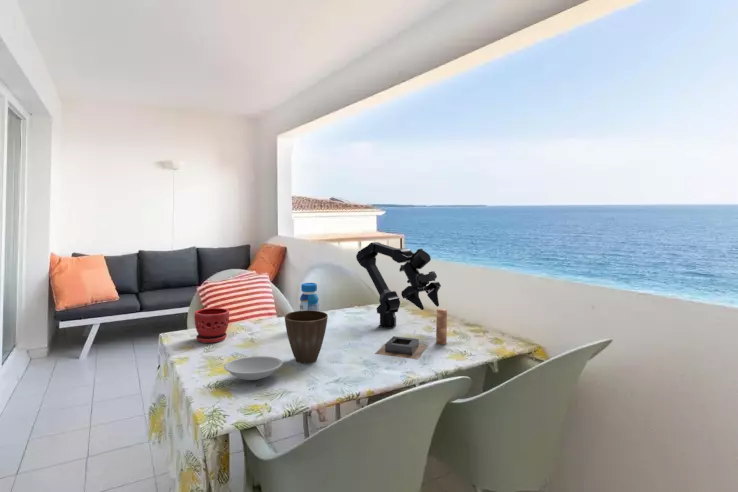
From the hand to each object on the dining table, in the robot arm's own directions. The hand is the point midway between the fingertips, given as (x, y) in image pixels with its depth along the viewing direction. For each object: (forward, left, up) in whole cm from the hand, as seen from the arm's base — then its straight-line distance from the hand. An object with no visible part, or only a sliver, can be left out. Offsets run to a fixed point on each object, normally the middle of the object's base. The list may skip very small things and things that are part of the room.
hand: (430, 307), depth 173 cm
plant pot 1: (-82, -32, -13) cm, 89 cm away
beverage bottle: (-53, -4, -13) cm, 55 cm away
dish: (-42, -60, -13) cm, 75 cm away
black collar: (-6, -19, -12) cm, 23 cm away
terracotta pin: (+6, -6, -13) cm, 15 cm away
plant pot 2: (-35, -39, -13) cm, 54 cm away
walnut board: (-6, -19, -13) cm, 24 cm away
